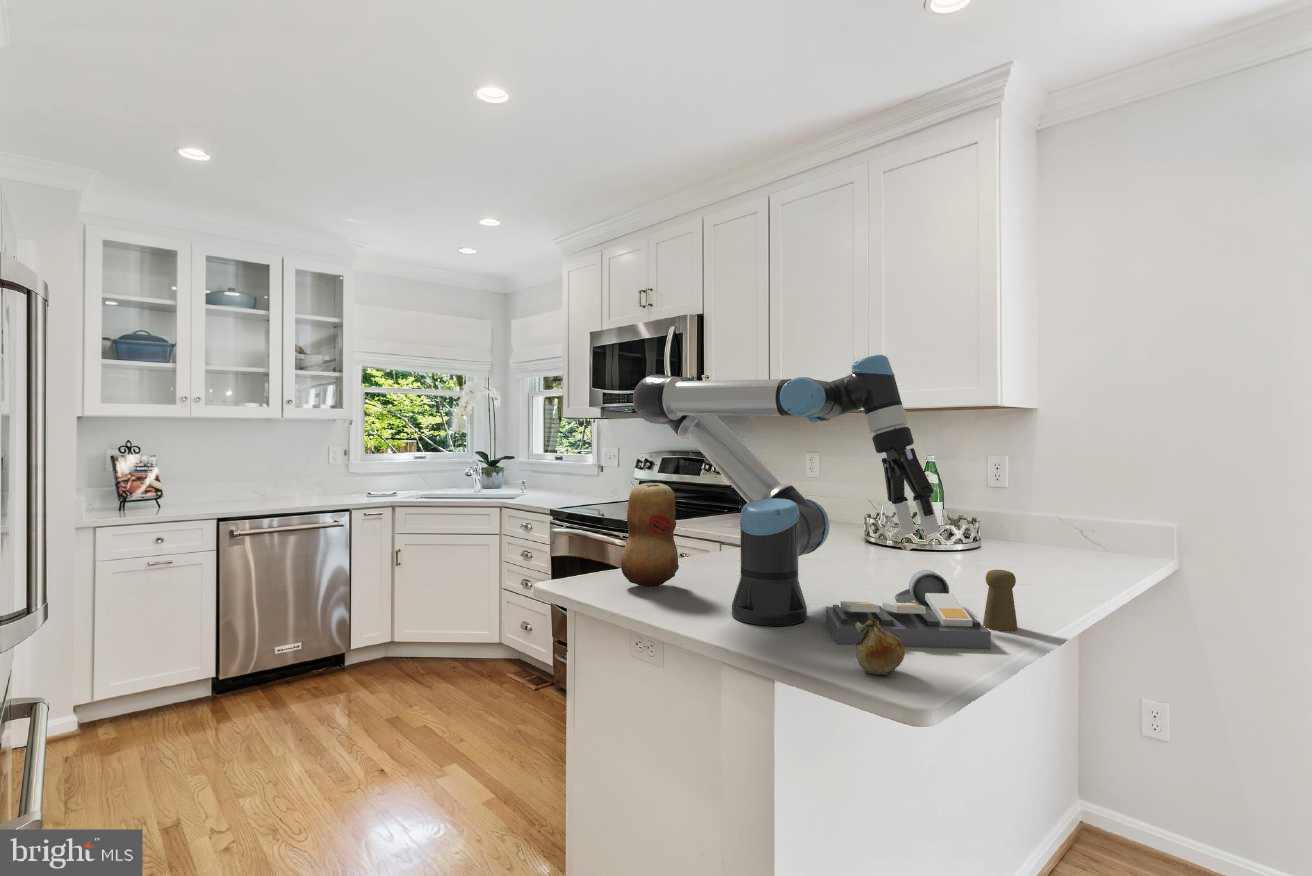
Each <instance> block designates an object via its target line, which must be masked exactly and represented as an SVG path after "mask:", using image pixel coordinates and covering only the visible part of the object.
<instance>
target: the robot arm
mask: <svg viewBox="0 0 1312 876" xmlns="http://www.w3.org/2000/svg"><path fill="white" fill-rule="evenodd" d="M895 375H896V374H895V373H894V371H893V369H892V366H891V363H890V361H889V358H888V357H887V356H885V355H884V354H874V355H870V356H865V357H863V358H860V359H859V360H857V361H854V362H853V363H852V364H851V373H850V374H849V375H847V376H843V377H841V378H838V379H835V380H830V381H825V380H820V379H814V378H812V377H805V376H804V377H803V376H799V377H793V378H787V379H786V378H785V379H783V378H781V379H780V378H778V379H777V378H775V379H772V378H771V379H770V378H769V379H768V378H767V379H765V378H764V379H733V380H732V379H731V380H730V379H726V380H722V379H721V380H719V379H718V380H696V379H694V378H691V377H688V376H674V375H673V376H672V375H665V374H651V375H648V376H646V377H644V378H642V379H641V380H640V381H639V382H638V384H637V385H636V386H635V388H634V391H633V395H632V403H633V408H634V410H635V412H636V414H637V415H638V416H639V417H640V418H641V419H642V420H644V421H646V422H648V423H651V424H657V425H668V426H669V428H670V429H671V430H672V431H673V432H674V433H675V434H676V435H677V437H679V438H680V439H682V440H690V442H691V443H693V445H694V446H695V447H696V449H697V450H699V451H700V453H702V455H703V456H705V458H706V459H707V460H708V462H710V463H711V464H712V466H713V467H715V468H716V470H717V471H718V472H719V473H720V475H722V477H723V478H724V479H725V480H726V481H727V482H728V483H729V484H730V485H731V486H732V487H733V489H735V491H736V492H737V493H738V494H739V495H740V496H741V497H742V498H743V500H744V501H745V502H746V503H745V504H744V505H743V506H742V508H741V513H740V519H739V527H740V528H739V529H740V577H739V582H738V584H737V588H736V591H735V592H734V596H733V600H732V602H731V616H732V617H733V618H734V619H735V620H738V621H740V622H743V623H747V624H752V625H757V626H758V625H759V626H768V627H770V626H771V627H774V626H775V627H780V626H781V627H782V626H783V627H784V626H793V625H797V624H801V623H803V622H805V621H807V619H808V607H807V603H806V599H805V597H804V595H803V594H804V593H803V590H802V588H801V587H802V586H801V584H800V582H799V557H801V556H803V555H807V554H811V553H813V552H815V551H817V549H819V548H820V547H821V546H822V545H823V544H824V543H825V541H827V538H828V536H829V533H830V519H829V516H828V513H827V512H826V510H825V509H824V507H823V506H822V505H821V504H820V503H818V502H816V501H814V500H812V499H810V498H805V497H804V495H802V493H800V492H799V491H798V490H797V489H796V487H795V486H794V485H793V484H783V483H781V481H780V480H779V479H778V478H776V477H775V475H773V474H772V472H771V471H770V470H769V469H768V468H767V467H766V466H765V465H764V464H763V463H762V462H761V461H760V460H759V459H758V458H757V456H755V455H754V453H752V451H751V450H750V449H749V448H748V447H747V446H746V445H745V444H744V443H743V442H742V441H741V440H740V439H739V438H738V436H736V435H735V434H734V432H732V431H731V429H730V428H729V426H727V425H726V424H725V423H724V422H723V420H721V419H720V418H719V417H718V416H722V417H724V416H725V417H726V416H729V417H733V416H735V417H736V416H737V417H739V416H741V417H742V416H743V417H747V416H748V417H798V418H806V419H807V420H808V421H809V422H810V423H812V424H816V423H820V422H827V421H830V420H831V419H834V418H837V417H840V416H843V415H847V414H849V413H852V412H855V411H860V410H862V409H863V412H864V416H865V419H866V423H867V427H868V431H869V433H870V434H873V435H872V438H871V440H872V442H873V446H874V450H875V452H876V454H883V453H885V454H886V456H885V457H882V458H881V463H882V467H883V473H884V478H885V481H884V482H885V486H886V487H885V489H886V495H887V500H888V502H889V503H892V505H893V508H894V512H895V515H896V518H897V522H898V525H899V529H900V532H901V535H902V536H905V535H909V534H914V533H916V532H917V531H916V527H915V524H914V523H915V522H914V520H913V518H912V513H911V510H910V506H909V504H908V501H909V499H908V497H907V496H906V495H905V493H906V492H905V482H906V485H907V486H908V488H909V489H910V491H911V492H912V494H913V498H912V501H913V502H915V506H916V510H917V513H918V516H919V520H920V523H921V526H922V530H923V534H924V536H927V535H931V534H935V533H939V532H941V529H940V526H939V522H938V519H937V517H936V512H935V509H934V506H933V503H932V499H931V497H932V494H934V488H933V486H932V484H931V483H930V481H929V478H928V476H927V475H926V472H925V471H924V469H923V467H922V465H921V463H920V461H919V459H918V457H917V454H916V453H917V452H916V450H915V449H914V447H912V448H907V447H910V446H913V445H914V442H915V441H914V438H913V434H912V431H911V428H910V427H909V426H906V425H908V423H909V422H908V418H907V415H908V411H907V410H906V409H905V407H904V405H903V402H902V399H901V398H902V397H901V395H900V391H899V389H898V385H897V381H896V377H895Z"/></svg>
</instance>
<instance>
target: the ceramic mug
mask: <svg viewBox="0 0 1312 876" xmlns="http://www.w3.org/2000/svg"><path fill="white" fill-rule="evenodd" d="M925 593H944V594H950V587H949V584H948V581H947V580H946V579H945V578H944V577H943V576H942V575H940V574H938V573H937V572H936V571H933V570H930V569H921V570H918V571H917V572H915V573H913V574H912V575H911V577H910V579H909V582H908V588H907V589H904V590H901V591H899V592H898V593H896V594H895V595H894V600H895V603H911V602H913V601H914V602H915V603H916V605H920V606H925V607H926V610H932V608H931V607H930V605H929V604H928V602H927V601H926V599H925Z"/></svg>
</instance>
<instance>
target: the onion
mask: <svg viewBox="0 0 1312 876" xmlns="http://www.w3.org/2000/svg"><path fill="white" fill-rule="evenodd" d="M855 626H856V629H857V631H858V632H859V633H861V634H864V636H863V638H861V640H858V642H857V645H855V646H856V647H855V651H856V652H855V658H856V660H857V663H858V665H859V667H861V669H862V670H864V671H865V672H866V673H869V674H871V675H876V676H877V675H879V676H882V675H883V676H887V675H889V674H891V673H892V672H893V671H895V670H896V669H897V668H899V666H900V665H901V664H902V662H903V661H904V658H905V655H906V653H905V652H906V651H905V646H904V645H903V643H902V641H900V640H899V638H897V637H895V636H893V635H892V634H891V633H889V632H887V631H884V630H883V629H882V628H881V627H880V626H879V621H877V620H875V619H873V620H872V621H870V620H869V621H868V622H866V623H865V625H862V624H860V623H859V622H857V623H856V625H855Z"/></svg>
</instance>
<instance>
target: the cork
mask: <svg viewBox="0 0 1312 876" xmlns="http://www.w3.org/2000/svg"><path fill="white" fill-rule="evenodd" d="M1016 581H1017V580H1016V576H1015V574H1014V573H1013V572H1011V571H1009V570H1005V569H991V570H989V571H987V573H986V574H985V582H986V585H987V586H988V589H987V590H988V591H987V594H986V602H985V608H984V615H983V620H982V621H983V622H982V626H985V627H986V629H988V628H989V629H988V630H991V629H992V630H991V631H995V630H999V631H998V632H1002V631H1010V632H1009V633H1012V632H1011V631H1013V632H1016V631H1015V630H1017V631H1018V621H1017V614H1016V605H1015V598H1014V591H1013V588H1014V587H1015V586H1016V583H1017V582H1016Z"/></svg>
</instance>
